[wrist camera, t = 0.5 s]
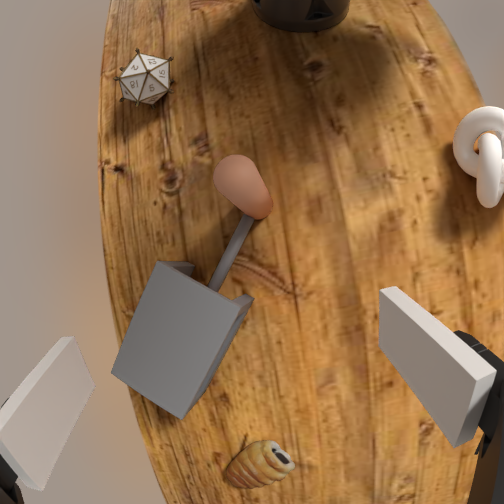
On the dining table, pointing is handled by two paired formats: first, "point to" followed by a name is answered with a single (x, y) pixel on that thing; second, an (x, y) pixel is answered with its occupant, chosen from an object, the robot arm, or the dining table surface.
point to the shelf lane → (177, 338)
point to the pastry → (259, 465)
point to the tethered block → (239, 205)
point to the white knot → (482, 152)
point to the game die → (145, 79)
